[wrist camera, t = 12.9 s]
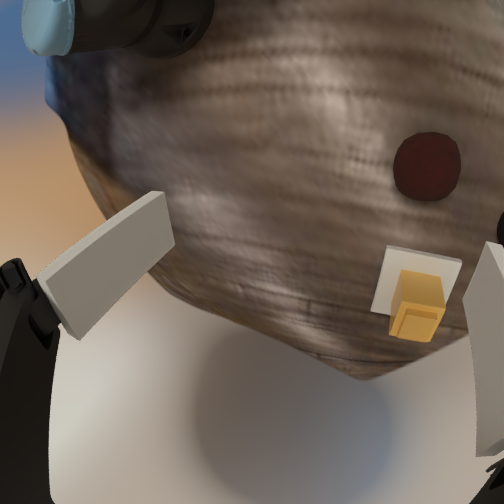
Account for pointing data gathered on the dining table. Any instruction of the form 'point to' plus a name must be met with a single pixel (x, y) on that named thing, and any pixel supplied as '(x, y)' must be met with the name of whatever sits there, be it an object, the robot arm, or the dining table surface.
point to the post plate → (413, 262)
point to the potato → (427, 166)
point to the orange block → (416, 306)
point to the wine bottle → (501, 230)
